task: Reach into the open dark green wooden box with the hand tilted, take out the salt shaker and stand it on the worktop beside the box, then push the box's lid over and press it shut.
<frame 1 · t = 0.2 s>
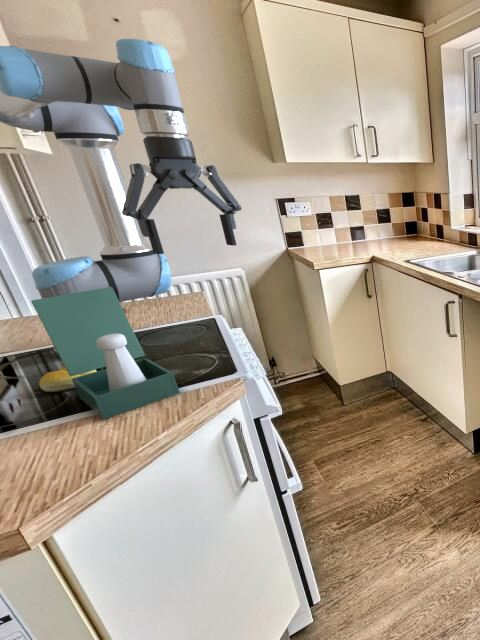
hand: (197, 249, 88), 28 cm above the worktop, tool pointing down, fingers open, 13 cm apart
box lid: (91, 330, 88), point 13 cm above the worktop, hinge at 110.0°
yellow rounded piece: (72, 384, 93), on the worktop
salt shaker: (133, 396, 86), resting on box
box: (130, 395, 87), on the worktop
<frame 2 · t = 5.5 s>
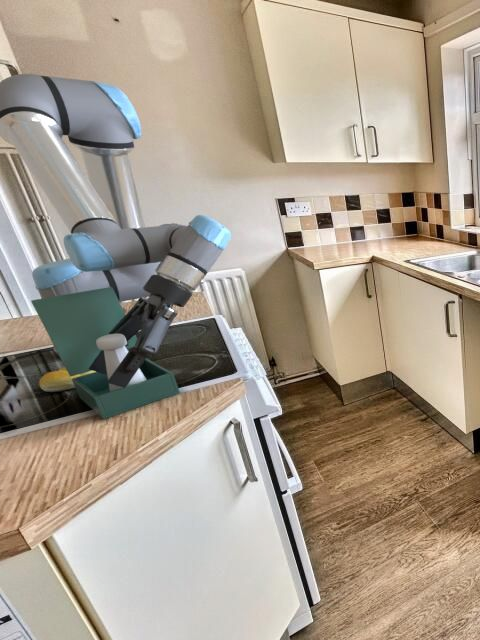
hand: (106, 378, 82), 6 cm above the worktop, tool tilted 45°, fingers open, 11 cm apart
nothing on the worktop moved.
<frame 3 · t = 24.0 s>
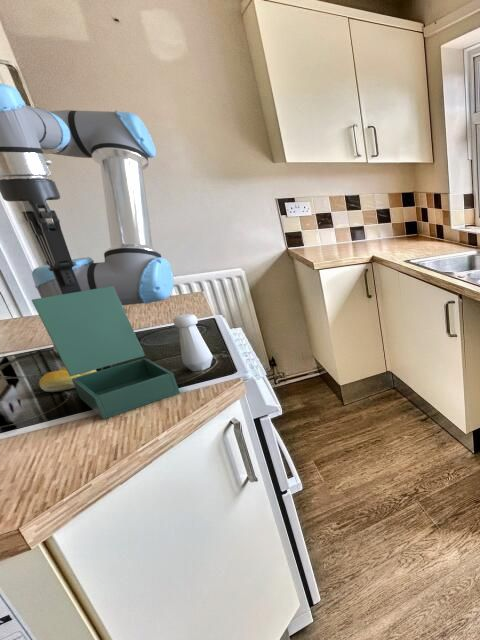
hand: (75, 300, 87), 19 cm above the worktop, tool pointing down, fingers closed
box lid: (92, 329, 88), point 13 cm above the worktop, hinge at 106.2°, touching gripper
salt shaker: (200, 368, 99), on the worktop
everything else where it was.
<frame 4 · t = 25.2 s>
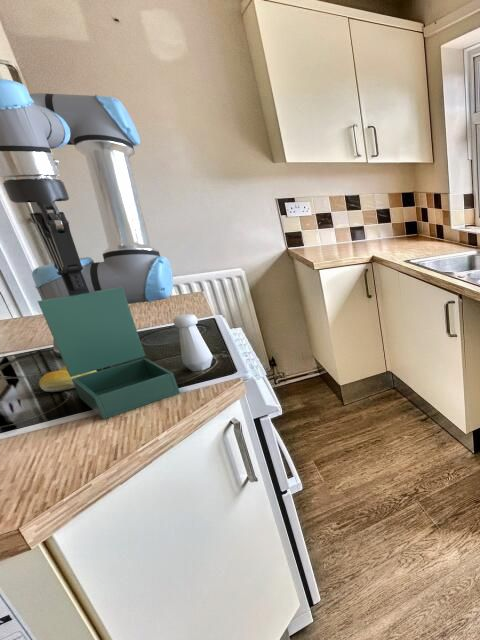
hand: (84, 305, 84), 18 cm above the worktop, tool pointing down, fingers closed
box lid: (96, 331, 86), point 13 cm above the worktop, hinge at 83.2°, touching gripper
everything else where it was.
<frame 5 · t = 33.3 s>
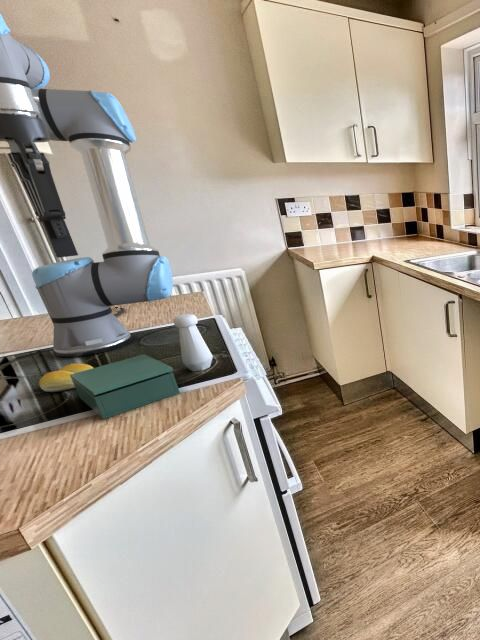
hand: (67, 256, 79), 28 cm above the worktop, tool pointing down, fingers closed
box lid: (121, 372, 85), point 5 cm above the worktop, hinge at 2.2°
everything else where it was.
at the end: salt shaker inside the target area (0.0 cm from its centre), on the worktop; salt shaker tilted 0°; box lid at +2° (first picture: +110°) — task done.
